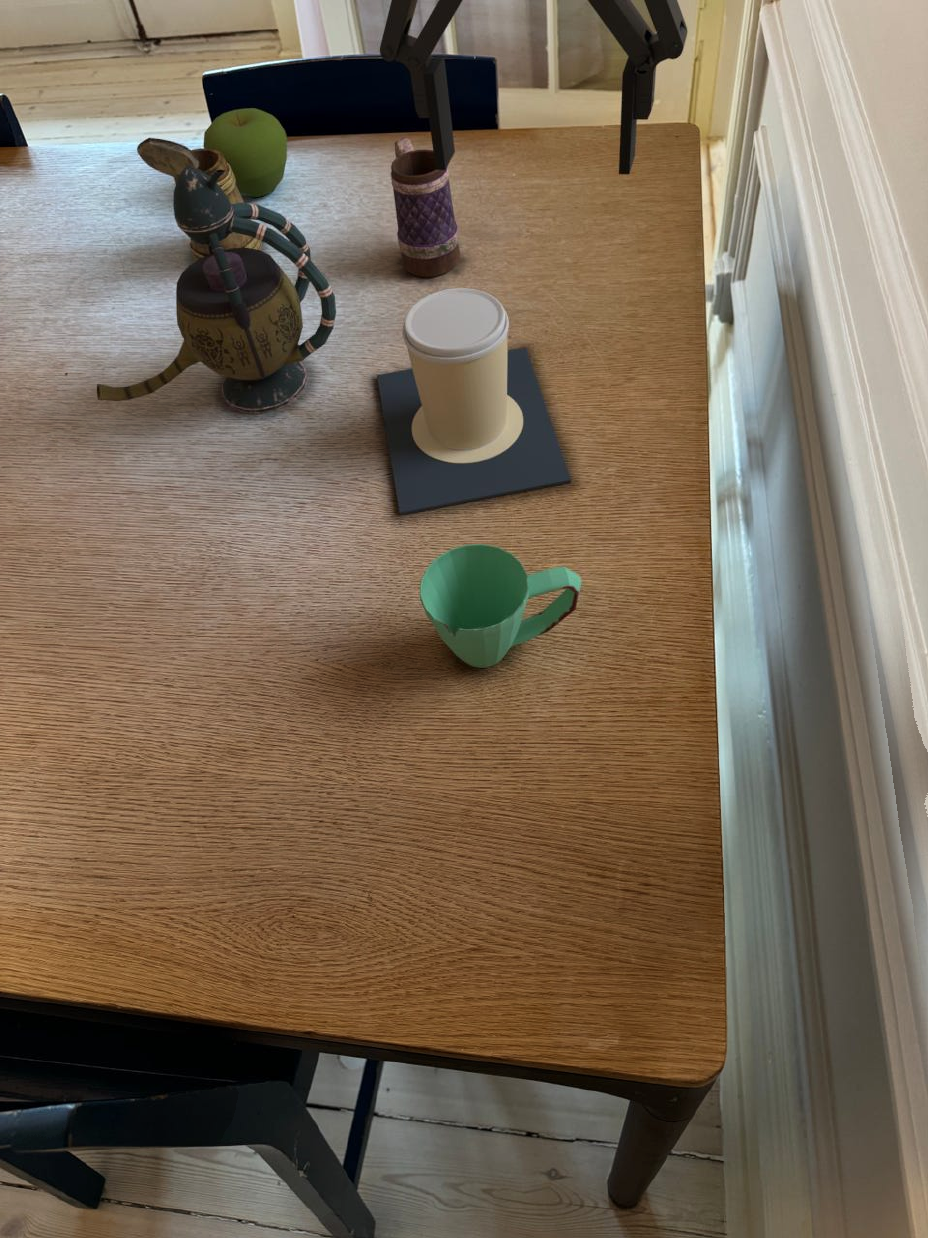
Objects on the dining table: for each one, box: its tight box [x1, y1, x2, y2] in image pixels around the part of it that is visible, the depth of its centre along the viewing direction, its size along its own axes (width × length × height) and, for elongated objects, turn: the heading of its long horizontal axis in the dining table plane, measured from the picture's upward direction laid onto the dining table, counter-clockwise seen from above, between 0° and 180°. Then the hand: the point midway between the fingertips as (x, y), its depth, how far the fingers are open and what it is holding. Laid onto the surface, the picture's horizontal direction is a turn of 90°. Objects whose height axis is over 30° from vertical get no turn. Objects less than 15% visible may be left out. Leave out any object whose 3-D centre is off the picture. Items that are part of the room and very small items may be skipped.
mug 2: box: [419, 543, 582, 669], centre depth 65 cm, size 12×8×8 cm, turn 99°
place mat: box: [376, 346, 572, 516], centre depth 84 cm, size 20×16×1 cm
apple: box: [202, 107, 288, 198], centre depth 111 cm, size 11×10×10 cm
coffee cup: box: [401, 287, 510, 450], centre depth 79 cm, size 9×9×12 cm
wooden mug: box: [136, 137, 263, 263], centre depth 98 cm, size 9×14×18 cm, turn 173°
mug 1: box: [390, 137, 461, 278], centre depth 97 cm, size 10×7×12 cm
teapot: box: [96, 165, 337, 414], centre depth 81 cm, size 12×25×23 cm, turn 111°
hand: (533, 163), depth 63 cm, fingers open, 13 cm apart
